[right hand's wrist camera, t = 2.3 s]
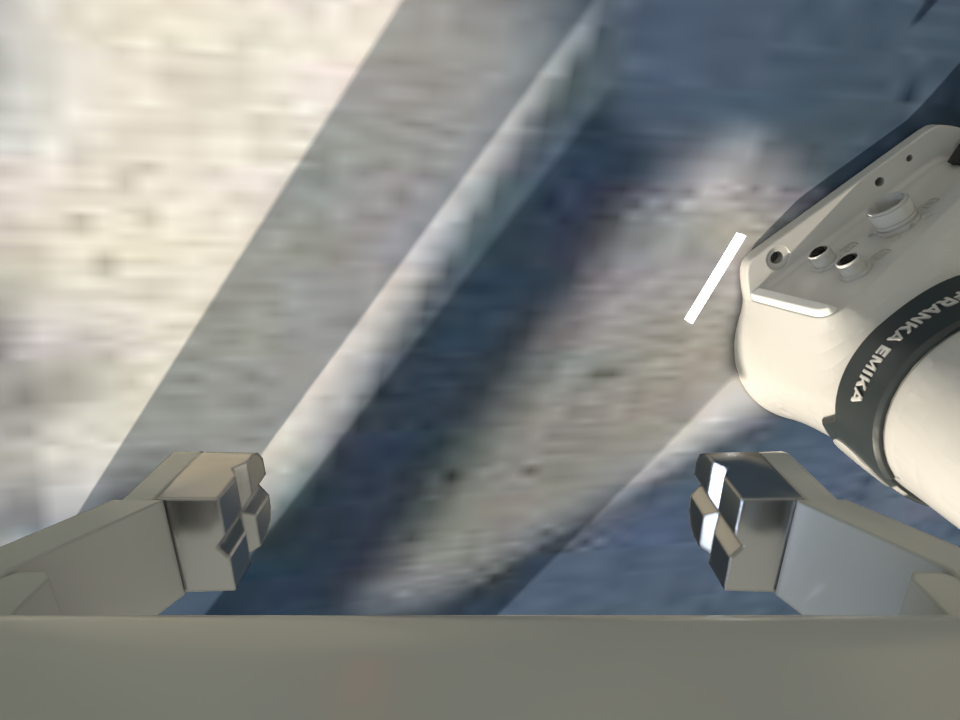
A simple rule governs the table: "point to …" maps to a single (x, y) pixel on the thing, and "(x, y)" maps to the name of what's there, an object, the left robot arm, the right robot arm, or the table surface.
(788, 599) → the right robot arm
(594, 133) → the table surface
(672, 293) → the table surface
